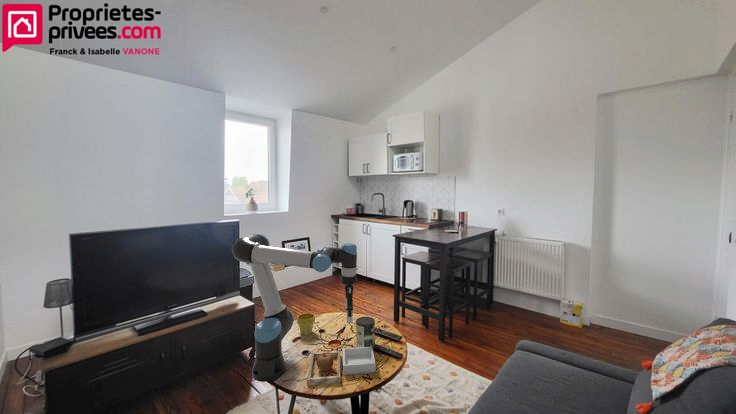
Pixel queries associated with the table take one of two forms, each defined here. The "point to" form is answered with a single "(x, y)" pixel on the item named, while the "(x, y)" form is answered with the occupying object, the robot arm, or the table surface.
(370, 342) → the coffee can
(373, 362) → the bin
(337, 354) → the corral
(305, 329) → the plant pot
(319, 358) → the apple
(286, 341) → the table surface
